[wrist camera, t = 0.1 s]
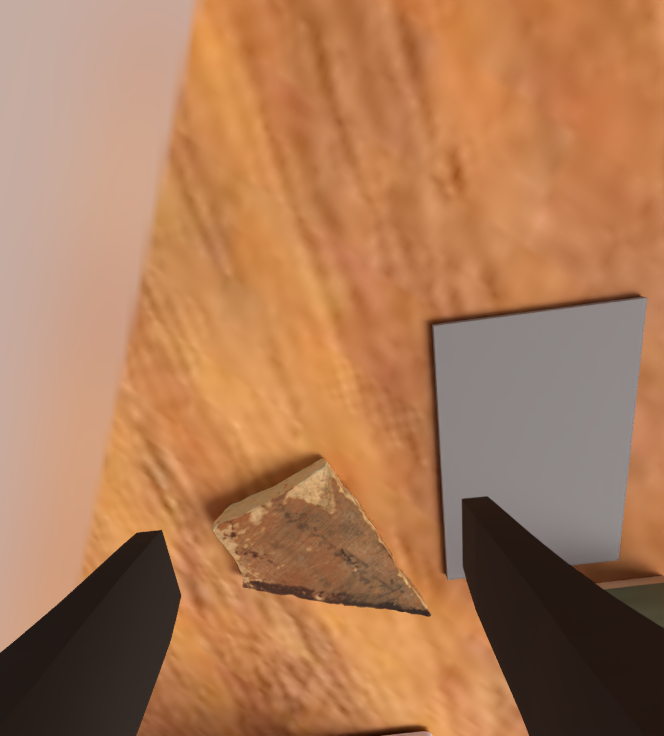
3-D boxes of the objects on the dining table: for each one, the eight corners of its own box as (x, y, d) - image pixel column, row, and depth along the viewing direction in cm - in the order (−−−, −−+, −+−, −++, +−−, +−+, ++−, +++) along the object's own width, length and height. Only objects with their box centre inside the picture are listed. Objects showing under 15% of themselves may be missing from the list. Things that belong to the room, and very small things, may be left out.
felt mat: (615, 555, 24) (618, 560, 23) (446, 575, 24) (447, 580, 24) (642, 296, 19) (647, 297, 19) (432, 324, 19) (433, 326, 19)
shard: (425, 593, 25) (433, 621, 23) (308, 644, 26) (308, 674, 25) (330, 447, 22) (331, 467, 20) (201, 513, 23) (192, 537, 21)
